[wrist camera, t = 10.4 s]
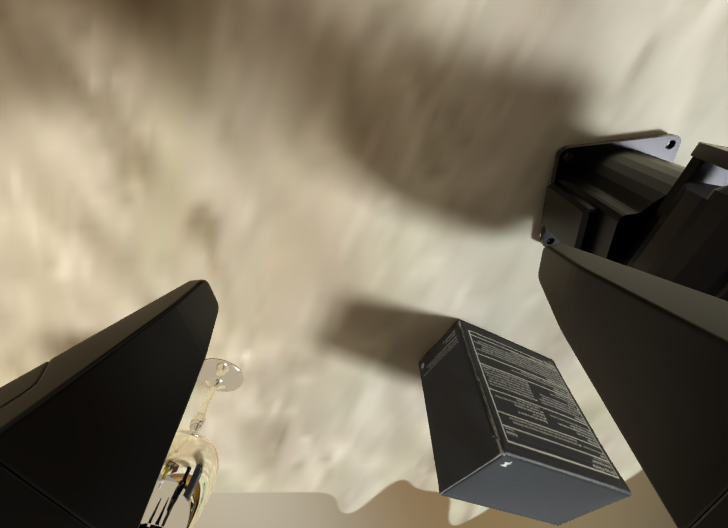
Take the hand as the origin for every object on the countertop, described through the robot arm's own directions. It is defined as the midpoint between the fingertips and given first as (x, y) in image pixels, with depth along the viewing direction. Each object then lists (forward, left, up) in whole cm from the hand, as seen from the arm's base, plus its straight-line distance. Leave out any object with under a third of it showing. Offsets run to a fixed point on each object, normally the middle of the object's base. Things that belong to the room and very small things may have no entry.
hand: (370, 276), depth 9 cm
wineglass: (+16, +18, -13) cm, 27 cm away
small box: (-8, +19, -13) cm, 24 cm away
